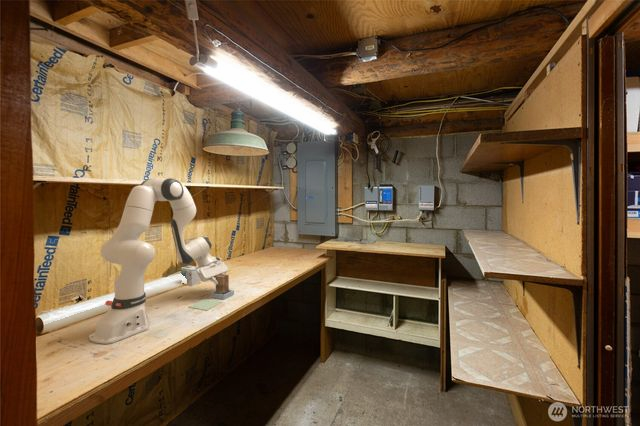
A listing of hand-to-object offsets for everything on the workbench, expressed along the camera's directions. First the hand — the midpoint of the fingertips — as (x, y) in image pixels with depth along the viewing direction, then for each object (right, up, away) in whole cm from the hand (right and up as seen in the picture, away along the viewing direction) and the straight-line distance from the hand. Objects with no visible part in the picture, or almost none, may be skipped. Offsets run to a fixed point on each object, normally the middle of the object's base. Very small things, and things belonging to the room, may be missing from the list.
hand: (221, 282), depth 172 cm
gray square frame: (+1, -8, +1) cm, 8 cm away
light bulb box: (-28, -7, +24) cm, 38 cm away
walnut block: (0, -5, 0) cm, 5 cm away
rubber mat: (-4, -9, -12) cm, 16 cm away
